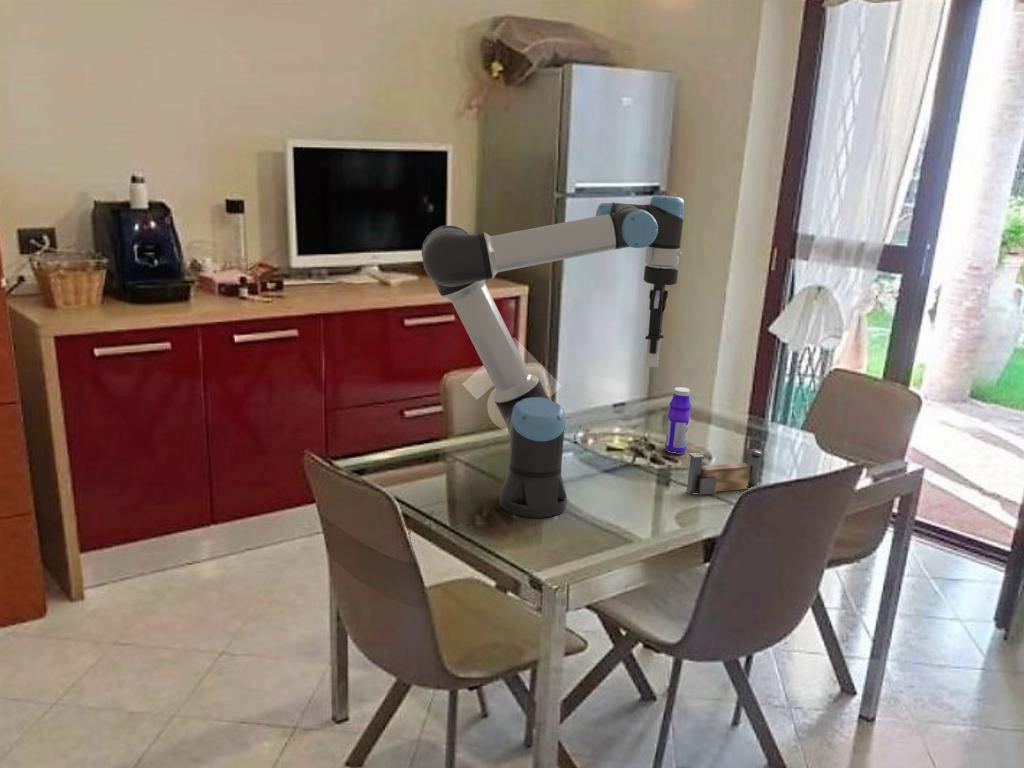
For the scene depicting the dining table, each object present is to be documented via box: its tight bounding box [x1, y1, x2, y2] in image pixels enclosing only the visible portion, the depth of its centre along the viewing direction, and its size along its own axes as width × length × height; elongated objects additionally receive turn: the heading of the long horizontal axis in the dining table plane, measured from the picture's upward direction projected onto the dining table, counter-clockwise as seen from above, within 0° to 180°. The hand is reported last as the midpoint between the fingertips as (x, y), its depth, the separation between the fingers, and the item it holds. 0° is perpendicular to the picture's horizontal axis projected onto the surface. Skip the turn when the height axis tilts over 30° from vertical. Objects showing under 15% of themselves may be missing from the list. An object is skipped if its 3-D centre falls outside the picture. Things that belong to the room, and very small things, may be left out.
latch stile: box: [686, 452, 717, 496], centre depth 211 cm, size 6×4×10 cm
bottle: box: [664, 386, 692, 454], centre depth 237 cm, size 7×6×17 cm
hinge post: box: [747, 448, 764, 488], centre depth 216 cm, size 3×3×10 cm
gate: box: [700, 462, 750, 493], centre depth 213 cm, size 13×2×6 cm, turn 109°
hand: (651, 365), depth 209 cm, fingers closed
